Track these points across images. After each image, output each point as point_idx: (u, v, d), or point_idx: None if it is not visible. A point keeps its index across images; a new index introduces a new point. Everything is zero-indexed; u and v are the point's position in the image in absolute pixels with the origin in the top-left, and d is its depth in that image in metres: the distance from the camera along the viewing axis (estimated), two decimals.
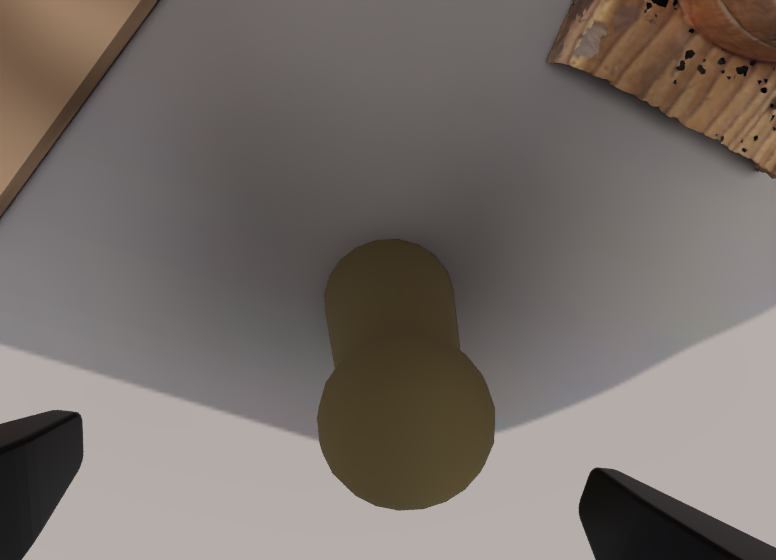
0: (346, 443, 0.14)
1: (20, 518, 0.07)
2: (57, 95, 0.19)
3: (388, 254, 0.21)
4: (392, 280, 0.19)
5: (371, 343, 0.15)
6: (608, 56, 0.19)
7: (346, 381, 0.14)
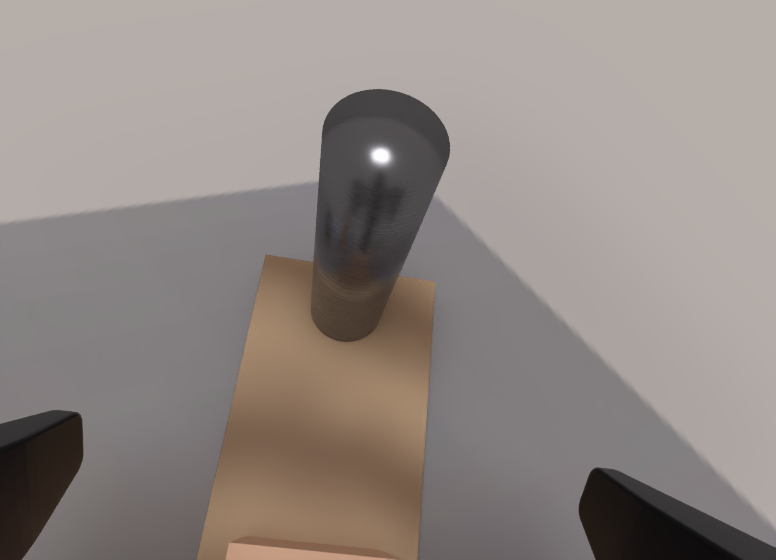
0: None
1: (20, 518, 0.07)
2: (235, 434, 0.20)
3: None
4: None
5: None
6: None
7: None
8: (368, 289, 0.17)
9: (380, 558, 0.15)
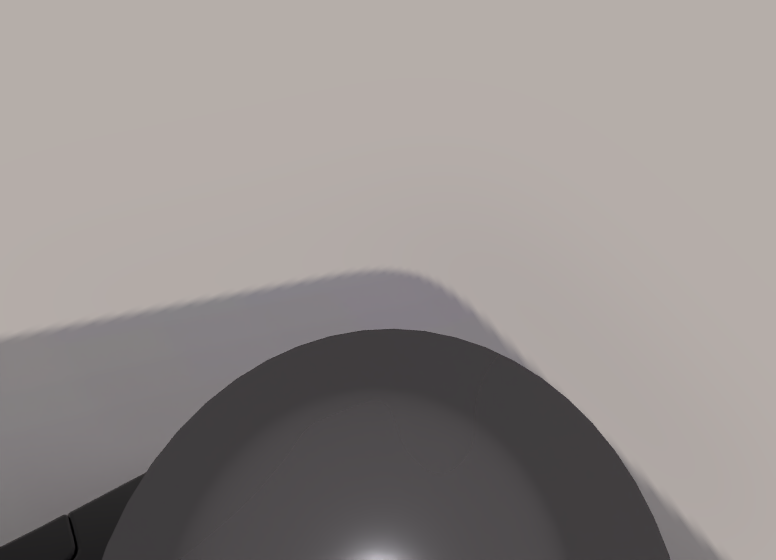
0: None
1: None
2: None
3: None
4: None
5: None
6: None
7: None
8: None
9: None
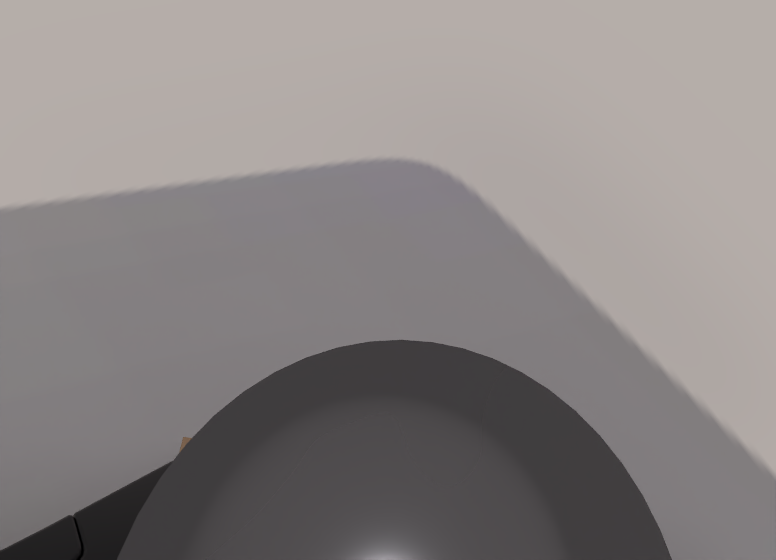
0: None
1: None
2: None
3: None
4: None
5: None
6: None
7: None
8: None
9: None
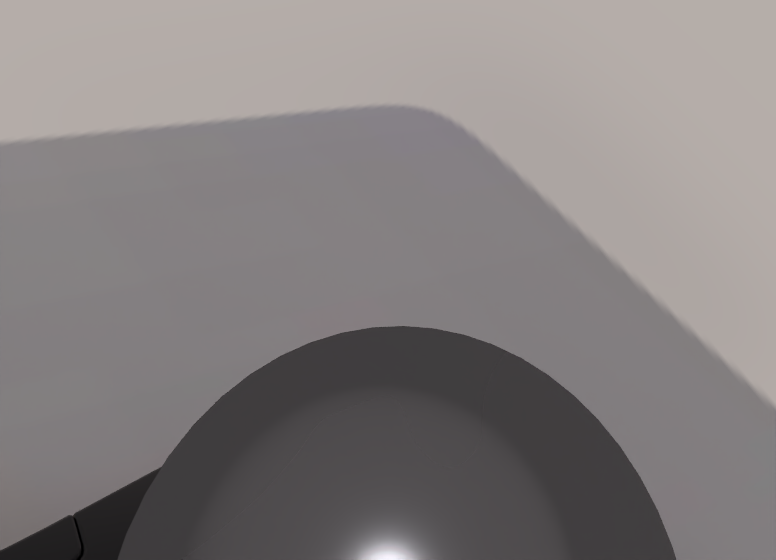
0: None
1: None
2: None
3: None
4: None
5: None
6: None
7: None
8: None
9: None
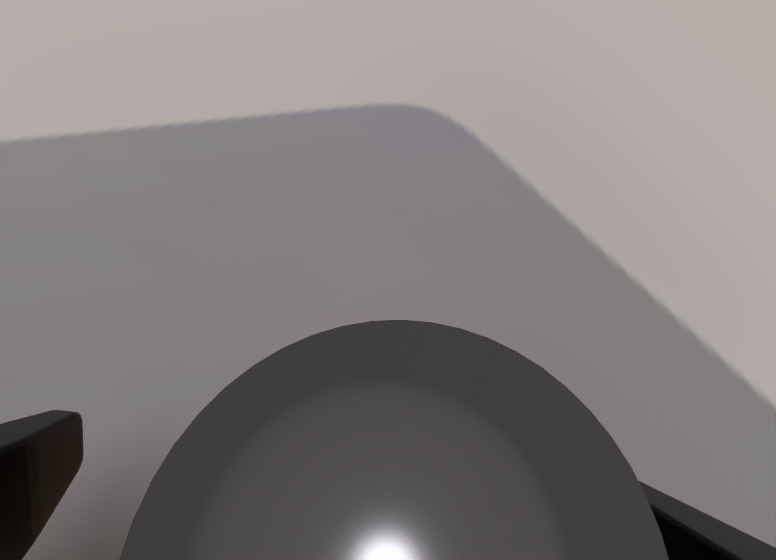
0: None
1: (20, 518, 0.07)
2: None
3: None
4: None
5: None
6: None
7: None
8: None
9: None
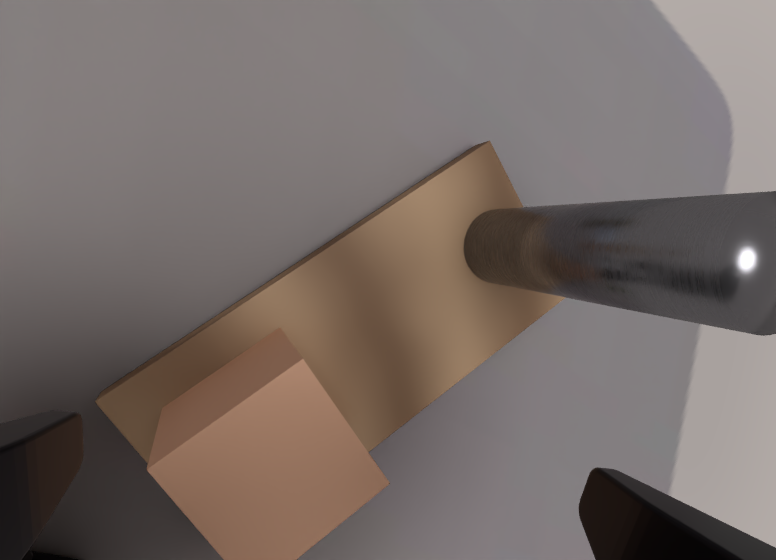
0: None
1: (20, 518, 0.07)
2: (339, 251, 0.20)
3: None
4: None
5: None
6: None
7: None
8: (562, 289, 0.17)
9: (377, 466, 0.16)
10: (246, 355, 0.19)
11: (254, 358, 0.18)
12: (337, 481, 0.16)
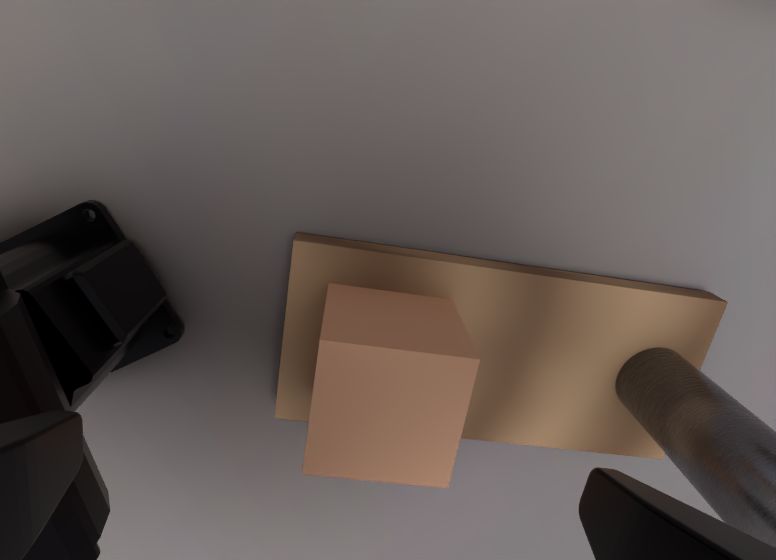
0: None
1: (20, 518, 0.07)
2: (542, 285, 0.21)
3: None
4: None
5: None
6: None
7: None
8: (698, 478, 0.17)
9: (451, 470, 0.17)
10: (416, 301, 0.20)
11: (426, 312, 0.19)
12: (418, 456, 0.17)
